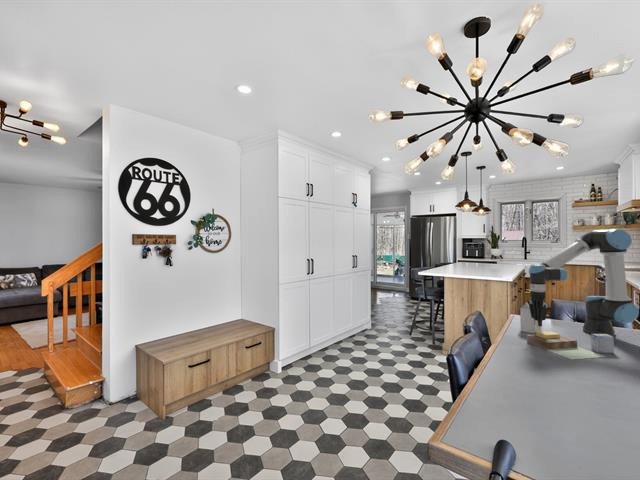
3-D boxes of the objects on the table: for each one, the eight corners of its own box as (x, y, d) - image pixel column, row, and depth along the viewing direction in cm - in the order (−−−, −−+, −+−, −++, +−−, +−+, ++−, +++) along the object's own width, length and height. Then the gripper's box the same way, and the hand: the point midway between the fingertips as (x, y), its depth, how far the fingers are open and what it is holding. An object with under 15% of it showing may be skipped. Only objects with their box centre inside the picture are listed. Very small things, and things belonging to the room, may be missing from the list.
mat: (578, 347, 170) (578, 347, 170) (606, 357, 156) (606, 356, 156) (546, 350, 167) (546, 349, 167) (571, 360, 153) (571, 359, 153)
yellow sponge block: (550, 334, 181) (550, 331, 181) (559, 337, 175) (559, 334, 175) (536, 335, 179) (536, 332, 179) (545, 338, 173) (545, 335, 173)
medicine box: (607, 350, 166) (606, 333, 166) (614, 353, 161) (613, 336, 161) (591, 349, 167) (590, 333, 167) (597, 352, 162) (597, 336, 162)
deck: (554, 340, 184) (553, 333, 184) (577, 347, 170) (577, 340, 170) (527, 341, 181) (526, 335, 181) (548, 350, 167) (548, 342, 167)
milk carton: (520, 330, 203) (520, 301, 203) (527, 329, 206) (526, 300, 206) (531, 333, 197) (531, 303, 197) (538, 332, 200) (538, 302, 200)
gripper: (523, 289, 189) (523, 328, 189) (541, 293, 177) (542, 334, 176) (534, 289, 191) (534, 328, 190) (553, 292, 178) (553, 334, 178)
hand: (538, 331), depth 183 cm, fingers closed
